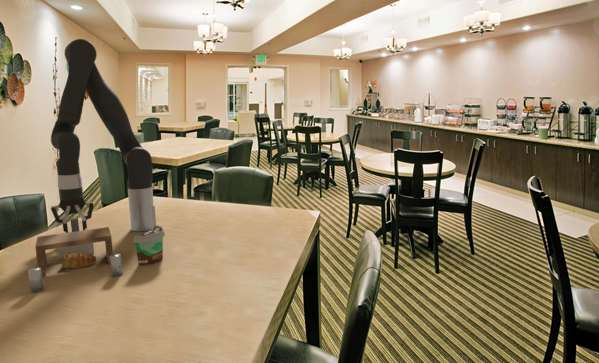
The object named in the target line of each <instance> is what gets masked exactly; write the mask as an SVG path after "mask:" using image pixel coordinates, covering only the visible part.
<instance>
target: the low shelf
mask: <svg viewBox="0 0 599 363" xmlns="http://www.w3.org/2000/svg"><path fill="white" fill-rule="evenodd" d="M110 230H111V229H110V228H109V226H108V227H100V228H98V227H97V228H92V229H85V230H83V229H82V230H79V231H76V232H72V231H70V232H69V231H68V233H66V232H64V233H63V232H62V233H57V234H56V233H53V234H48V235H41V236H37V238H36V243H35V246H34V248H35V254H36V261H37V267H40V268H41V272H42V278H43V277H46V274H47V269H48V261H47V260H48V259H47V253H46V251H47V250H55V249H59V248H62V247H69V246H75V245H82V244H88V243H93V244H94V243H102V242H104V245H105V254H106V259H107V263H108V265H110V255H113V254H114V250H113V241H112V239H113V238H112V234H111V231H110Z"/></svg>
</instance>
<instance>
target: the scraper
mask: <svg viewBox="0 0 599 363" xmlns="http://www.w3.org/2000/svg"><path fill="white" fill-rule="evenodd" d="M69 221H70V226H71V227H70V229H71V232H76V231H80V226H79V225H80V224H79V218H78V216H77V217H71V218H70V219H69ZM58 250H59V251H58V253H59V259H60V260H63V256H64V255H65V254H72V253H75V254H76V253H81V254H82V253H83V254H90V255H93V254H95V248H94V243H88V244H82V245H75V246H69V247H62V248H58Z"/></svg>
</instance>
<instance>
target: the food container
mask: <svg viewBox="0 0 599 363" xmlns="http://www.w3.org/2000/svg"><path fill="white" fill-rule="evenodd" d="M163 228H164V227H162V226H161V225H157V224H156V225H154V228H153V229H151V230H148V231H143V233H142V234H141V235H133V244H134V246H135V252H136V259H137V265H138V266H150V265H154V264H157V263H160V262H161V261H163V258H164V257H163V256H164V237H165V235H166V233H165V230H164V229H163Z"/></svg>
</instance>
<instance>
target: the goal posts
mask: <svg viewBox="0 0 599 363" xmlns="http://www.w3.org/2000/svg"><path fill="white" fill-rule="evenodd" d="M122 265H123V264H122V255H121V254H120V253H113V255H110V275H111V277H114V278H116V277H120V276H123V267H122ZM27 276H28V283H29V289H30V293H40V292H42V291H44V289H45V288H44V280H43V277H42V272H41V268H40V267H38V266H37V267H31V268H29V269H27Z"/></svg>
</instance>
